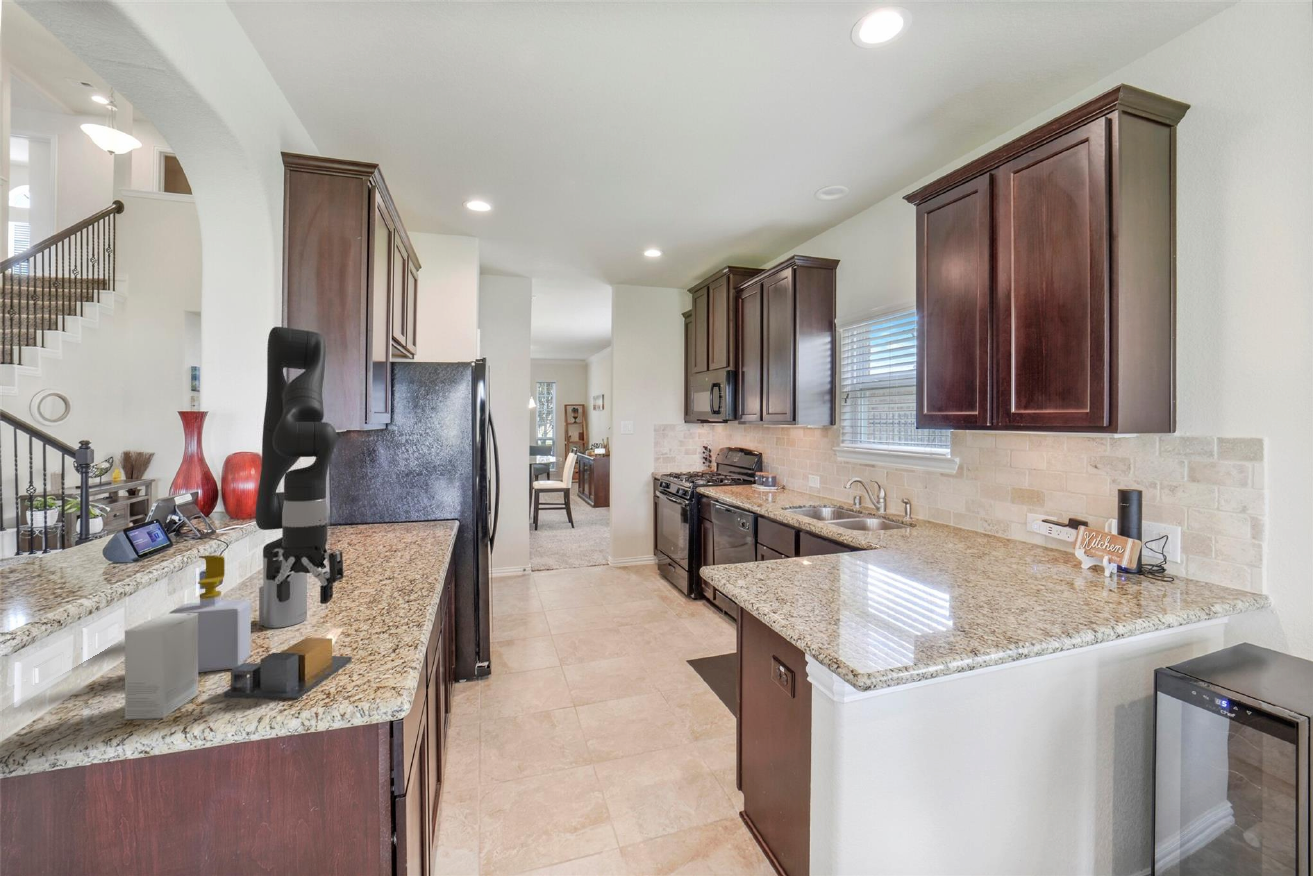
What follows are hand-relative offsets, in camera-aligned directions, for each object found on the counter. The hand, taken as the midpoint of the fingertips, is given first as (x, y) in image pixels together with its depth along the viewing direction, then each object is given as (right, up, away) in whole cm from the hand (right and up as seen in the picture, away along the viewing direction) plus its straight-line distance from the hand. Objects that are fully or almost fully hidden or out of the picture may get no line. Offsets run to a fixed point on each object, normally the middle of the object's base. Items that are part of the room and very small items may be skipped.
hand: (304, 601), depth 106 cm
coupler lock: (0, -14, 0) cm, 14 cm away
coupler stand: (-2, -15, -1) cm, 15 cm away
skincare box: (-17, -15, -12) cm, 26 cm away
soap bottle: (-22, -15, +4) cm, 27 cm away
